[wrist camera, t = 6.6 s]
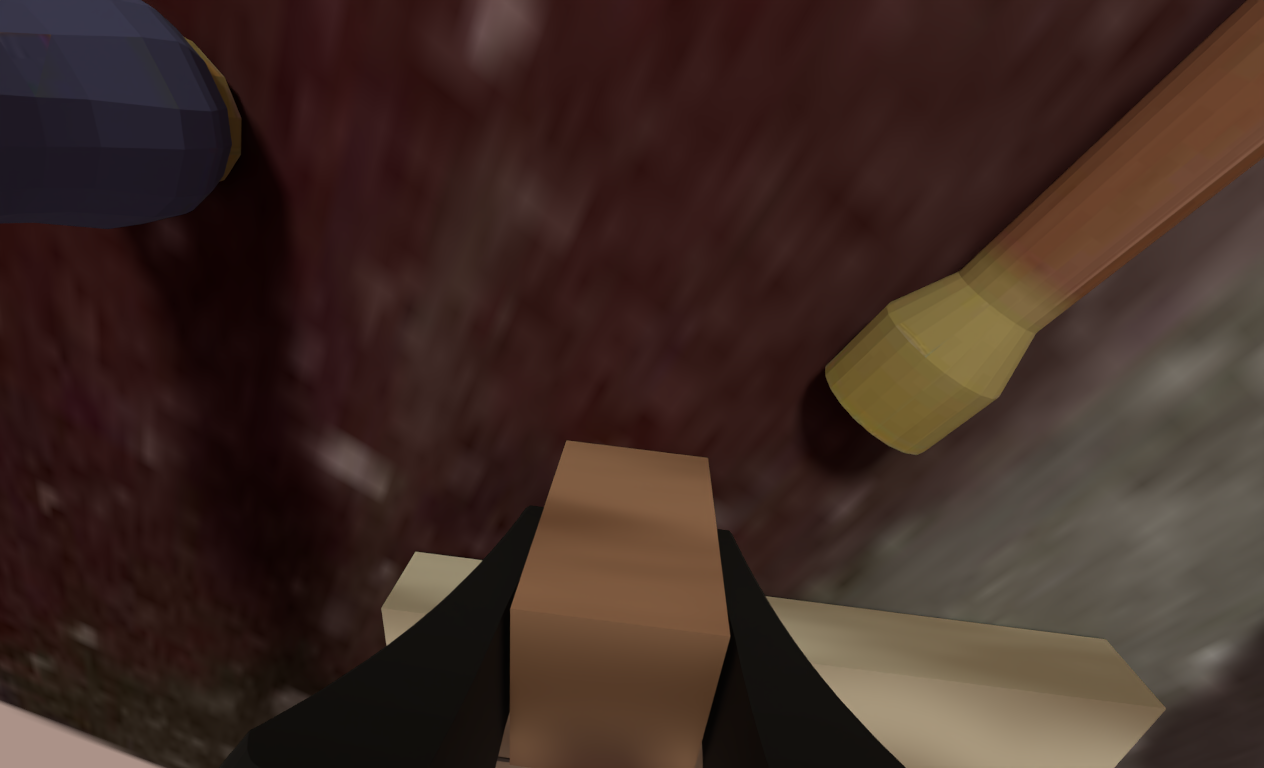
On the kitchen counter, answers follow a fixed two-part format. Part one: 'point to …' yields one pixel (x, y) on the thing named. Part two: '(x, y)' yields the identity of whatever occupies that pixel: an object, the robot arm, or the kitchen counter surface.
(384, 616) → the board
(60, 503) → the kitchen counter surface
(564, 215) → the kitchen counter surface
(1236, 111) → the hammer
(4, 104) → the rubber mallet
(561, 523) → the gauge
